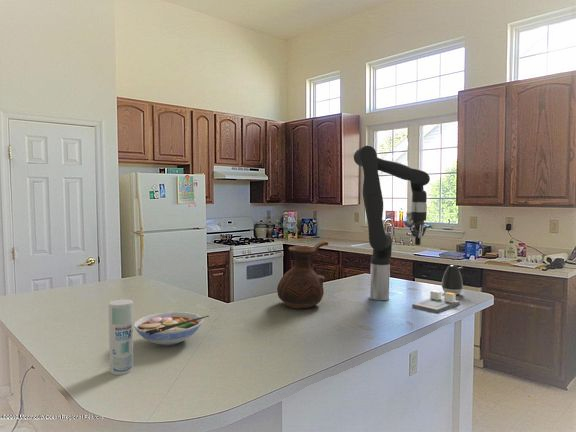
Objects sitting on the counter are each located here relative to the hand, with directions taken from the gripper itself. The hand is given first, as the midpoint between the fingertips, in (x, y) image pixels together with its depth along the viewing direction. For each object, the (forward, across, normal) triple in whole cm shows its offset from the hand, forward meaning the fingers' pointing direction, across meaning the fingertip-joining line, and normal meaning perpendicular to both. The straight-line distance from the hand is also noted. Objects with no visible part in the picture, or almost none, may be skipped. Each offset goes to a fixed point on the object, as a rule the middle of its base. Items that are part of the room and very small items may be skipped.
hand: (417, 244), depth 217 cm
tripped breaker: (+24, -8, -22) cm, 33 cm away
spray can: (+26, -149, +7) cm, 152 cm away
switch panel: (+25, -14, -18) cm, 34 cm away
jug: (+26, -60, +23) cm, 70 cm away
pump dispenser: (+26, +14, -12) cm, 32 cm away
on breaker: (+24, -8, -15) cm, 29 cm away
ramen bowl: (+26, -128, +19) cm, 132 cm away
